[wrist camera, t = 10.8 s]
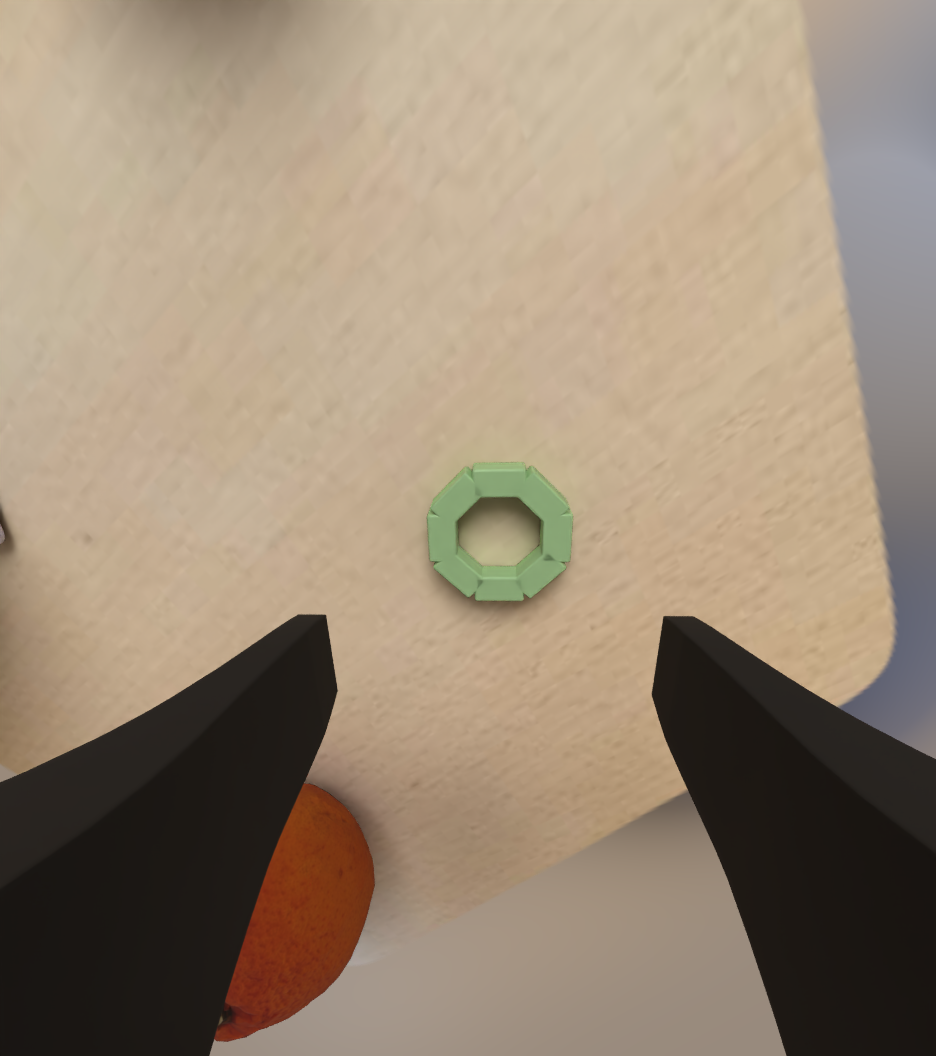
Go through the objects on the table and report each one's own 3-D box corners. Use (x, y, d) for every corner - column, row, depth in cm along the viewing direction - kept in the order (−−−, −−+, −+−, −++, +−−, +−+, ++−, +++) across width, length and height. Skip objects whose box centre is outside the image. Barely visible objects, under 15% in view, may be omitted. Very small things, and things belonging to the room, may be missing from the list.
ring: (564, 588, 18) (567, 602, 17) (434, 588, 19) (431, 601, 18) (571, 460, 16) (576, 468, 16) (427, 462, 17) (423, 470, 16)
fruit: (303, 713, 21) (201, 915, 14) (421, 832, 24) (388, 1057, 16) (170, 788, 24) (22, 996, 16) (291, 889, 26) (210, 1110, 19)
